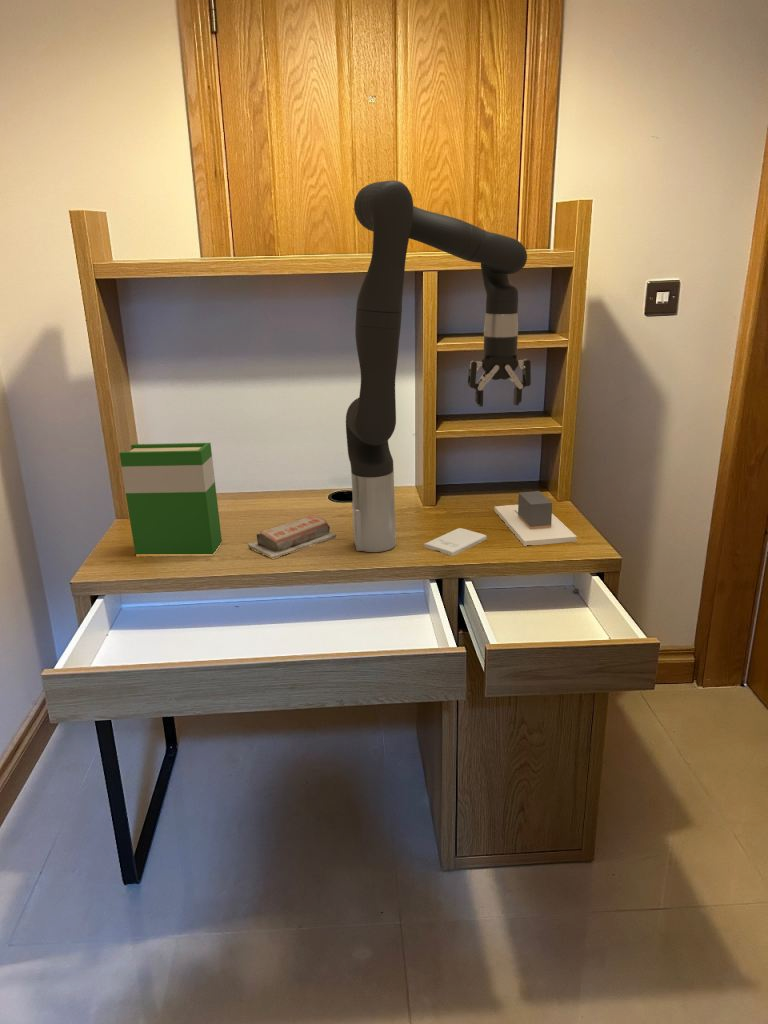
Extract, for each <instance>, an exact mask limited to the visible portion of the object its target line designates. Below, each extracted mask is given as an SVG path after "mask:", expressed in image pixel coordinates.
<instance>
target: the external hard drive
mask: <svg viewBox="0 0 768 1024" xmlns="http://www.w3.org/2000/svg"><path fill="white" fill-rule="evenodd" d="M486 539H488V536H487V535H486V534H483V533H480V532H476V531H473V530H469V529H466V528H461V527H458V528H456V529H454V530H452V531H449V532H447V533H444V534H442V535H441V536H438V537H436V538H434V539H431V540H430V541H428V542H427V541H426V542H425V543H424V544H423V548H426V549H429V550H431V551H434V550H435V552H439V551H440V552H439V553H440V554H441V553H442V554H444V555H447V554H448V555H447V556H452V557H454V556H456V555H458V554H460V553H462V552H464V551H467V550H468V549H470V548H472V547H474V546H476V545H479V544H480V543H483V542H484V540H485V541H487V540H486ZM482 541H483V542H482ZM478 543H479V544H478Z"/></svg>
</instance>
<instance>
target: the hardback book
mask: <svg viewBox="0 0 768 1024" xmlns="http://www.w3.org/2000/svg"><path fill="white" fill-rule="evenodd" d="M130 449H131V450H129V451H120V452H119V458H120V459H119V460H120V465H121V472H122V477H123V485H124V489H125V490H124V491H125V497H126V504H127V511H128V516H129V517H128V518H129V522H130V528H131V529H130V530H131V535H132V541H133V548H134V555H135V554H213V553H214V552H215V551H216V549H217V548H218V546H219V545H220V543H221V542H222V543H223V539H222V530H221V522H220V513H219V505H218V504H219V503H218V495H217V488H216V487H217V486H216V479H215V478H216V477H215V472H214V471H215V469H214V463H213V453H212V445H211V442H186V443H184V442H183V443H182V442H181V443H177V442H176V443H175V442H174V443H141V444H140V443H139V444H138V443H136V444H135V443H134V444H130Z"/></svg>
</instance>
